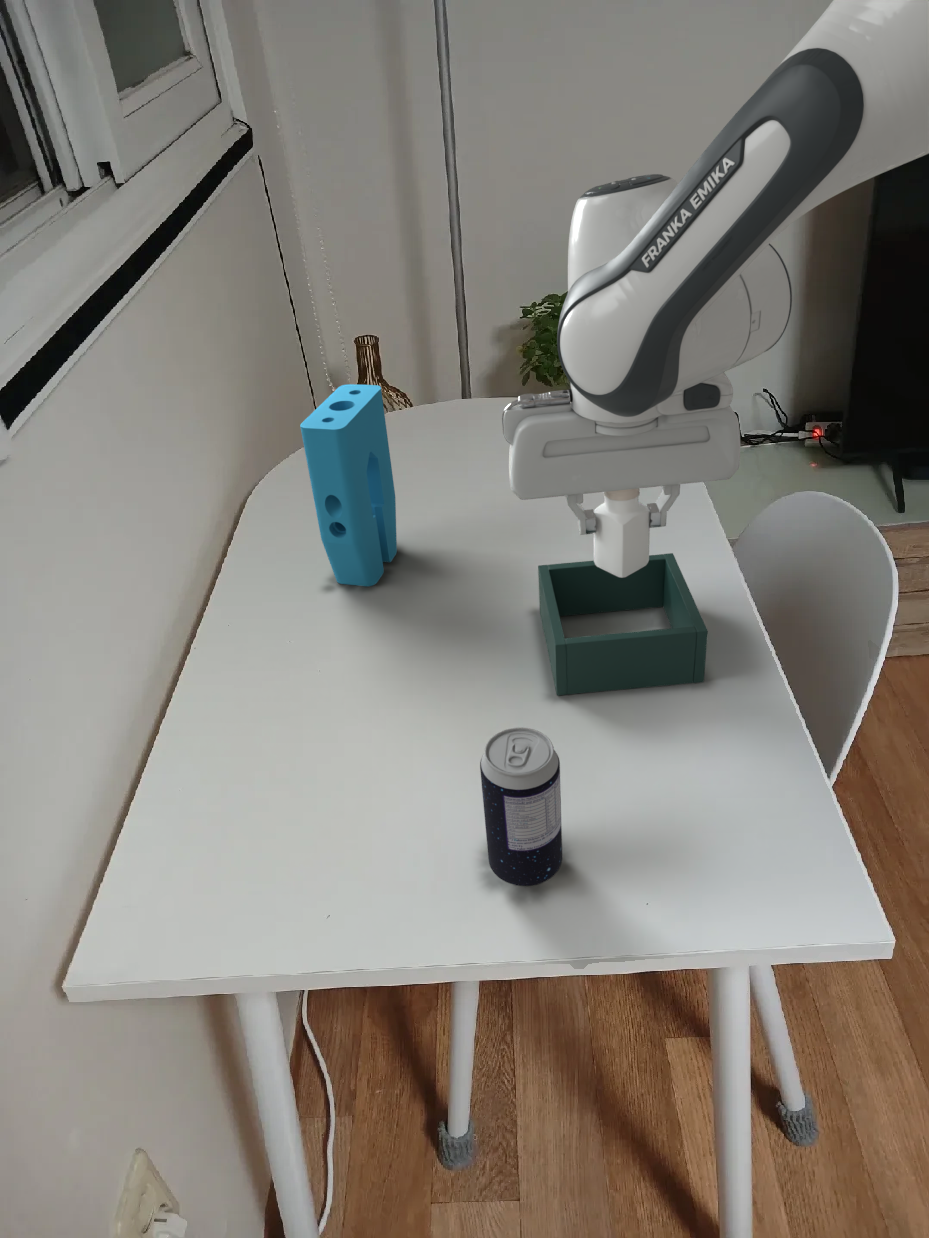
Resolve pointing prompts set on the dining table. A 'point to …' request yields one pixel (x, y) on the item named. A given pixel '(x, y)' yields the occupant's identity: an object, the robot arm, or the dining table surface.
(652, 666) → the bin
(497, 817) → the beverage can
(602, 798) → the dining table surface
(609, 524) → the salt shaker
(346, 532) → the block
